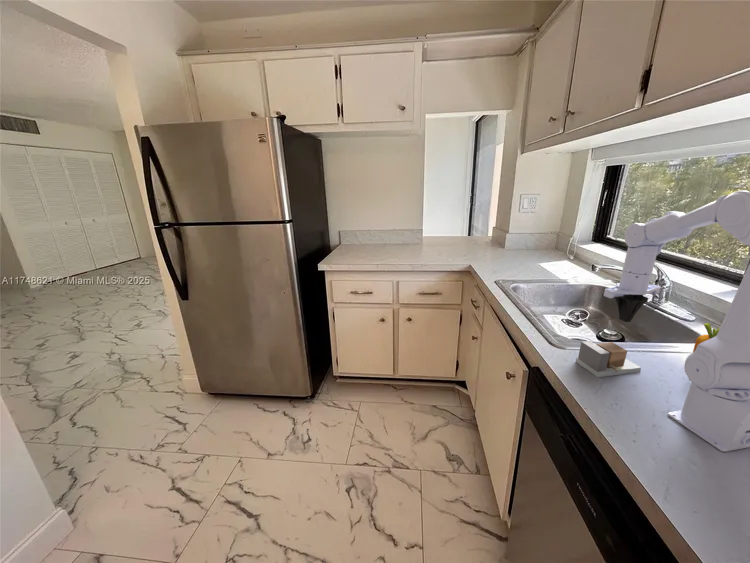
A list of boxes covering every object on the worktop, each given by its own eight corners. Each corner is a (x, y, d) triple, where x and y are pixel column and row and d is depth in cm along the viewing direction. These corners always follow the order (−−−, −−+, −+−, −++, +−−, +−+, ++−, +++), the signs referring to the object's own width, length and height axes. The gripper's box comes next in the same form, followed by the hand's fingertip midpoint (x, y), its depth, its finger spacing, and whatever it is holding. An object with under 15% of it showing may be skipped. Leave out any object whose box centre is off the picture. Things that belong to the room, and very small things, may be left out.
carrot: (683, 380, 74) (702, 323, 69) (684, 371, 77) (703, 316, 72) (713, 389, 70) (736, 330, 66) (713, 379, 74) (734, 322, 69)
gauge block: (630, 370, 76) (635, 355, 74) (610, 373, 75) (614, 357, 74) (608, 356, 82) (611, 342, 80) (589, 359, 81) (592, 344, 80)
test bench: (640, 371, 77) (646, 349, 75) (597, 377, 76) (603, 355, 74) (615, 356, 84) (620, 336, 82) (575, 361, 82) (579, 340, 80)
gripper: (645, 265, 83) (633, 312, 87) (598, 269, 81) (588, 316, 85) (674, 272, 76) (659, 322, 81) (623, 277, 74) (611, 328, 79)
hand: (624, 320), depth 82 cm, fingers closed
